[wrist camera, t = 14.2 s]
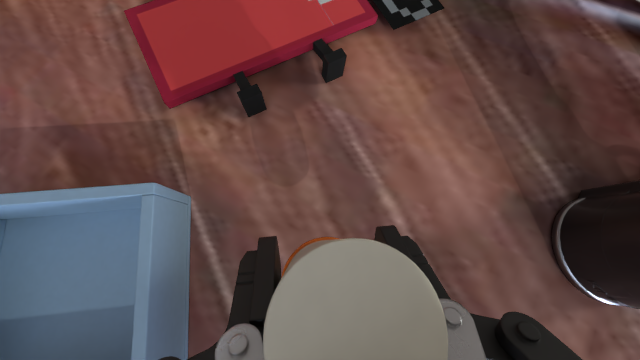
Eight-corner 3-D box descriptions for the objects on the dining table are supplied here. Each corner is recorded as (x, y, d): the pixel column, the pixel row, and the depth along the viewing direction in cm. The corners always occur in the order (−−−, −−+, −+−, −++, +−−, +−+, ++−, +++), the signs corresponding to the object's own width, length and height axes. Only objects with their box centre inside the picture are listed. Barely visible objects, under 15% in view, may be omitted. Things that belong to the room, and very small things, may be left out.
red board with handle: (449, 28, 28) (379, -64, 31) (465, 5, 25) (386, -94, 28) (187, 144, 23) (133, 23, 26) (171, 131, 20) (113, -3, 23)
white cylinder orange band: (309, 223, 15) (320, 198, 7) (377, 262, 15) (482, 292, 6) (267, 296, 14) (213, 383, 5) (340, 340, 14) (406, 507, 5)
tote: (6, 211, 21) (-99, 200, 15) (191, 196, 22) (154, 181, 16) (-36, 439, 17) (-193, 532, 12) (187, 405, 18) (139, 475, 13)
